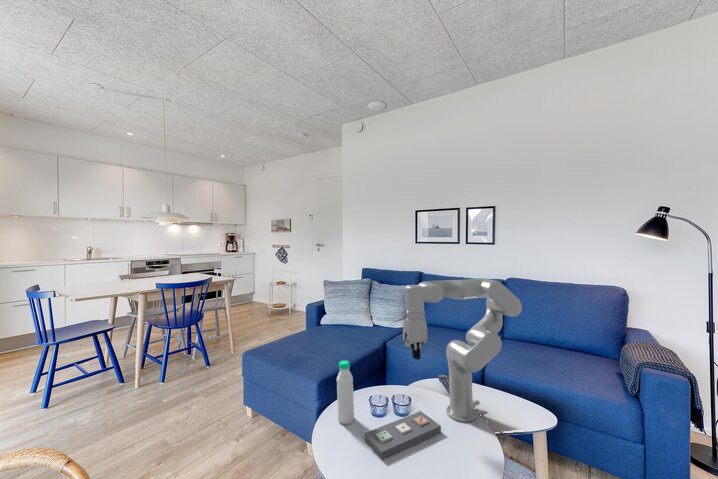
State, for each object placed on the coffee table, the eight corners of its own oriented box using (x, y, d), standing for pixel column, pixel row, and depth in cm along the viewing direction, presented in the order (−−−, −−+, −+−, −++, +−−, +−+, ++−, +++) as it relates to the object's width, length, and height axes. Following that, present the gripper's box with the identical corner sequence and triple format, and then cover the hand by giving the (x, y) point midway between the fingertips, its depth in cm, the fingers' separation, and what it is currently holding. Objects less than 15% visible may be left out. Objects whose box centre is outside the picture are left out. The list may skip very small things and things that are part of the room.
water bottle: (339, 426, 125) (337, 366, 125) (336, 416, 132) (334, 359, 132) (355, 423, 127) (354, 364, 127) (352, 413, 134) (350, 358, 134)
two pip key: (385, 439, 116) (385, 430, 116) (392, 445, 112) (392, 436, 112) (376, 443, 114) (375, 433, 114) (382, 450, 110) (382, 440, 110)
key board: (420, 417, 129) (420, 411, 129) (441, 433, 119) (440, 425, 119) (364, 441, 116) (364, 433, 116) (381, 460, 105) (381, 452, 105)
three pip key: (421, 424, 125) (421, 415, 125) (429, 429, 121) (428, 420, 121) (413, 427, 122) (413, 418, 122) (420, 433, 119) (420, 424, 119)
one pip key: (404, 431, 120) (404, 422, 120) (411, 437, 116) (411, 428, 116) (395, 435, 118) (395, 426, 118) (402, 441, 114) (401, 432, 114)
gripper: (422, 310, 133) (424, 351, 133) (395, 315, 126) (396, 359, 126) (434, 313, 126) (436, 357, 126) (406, 319, 119) (407, 365, 119)
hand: (416, 358), depth 126 cm, fingers closed
